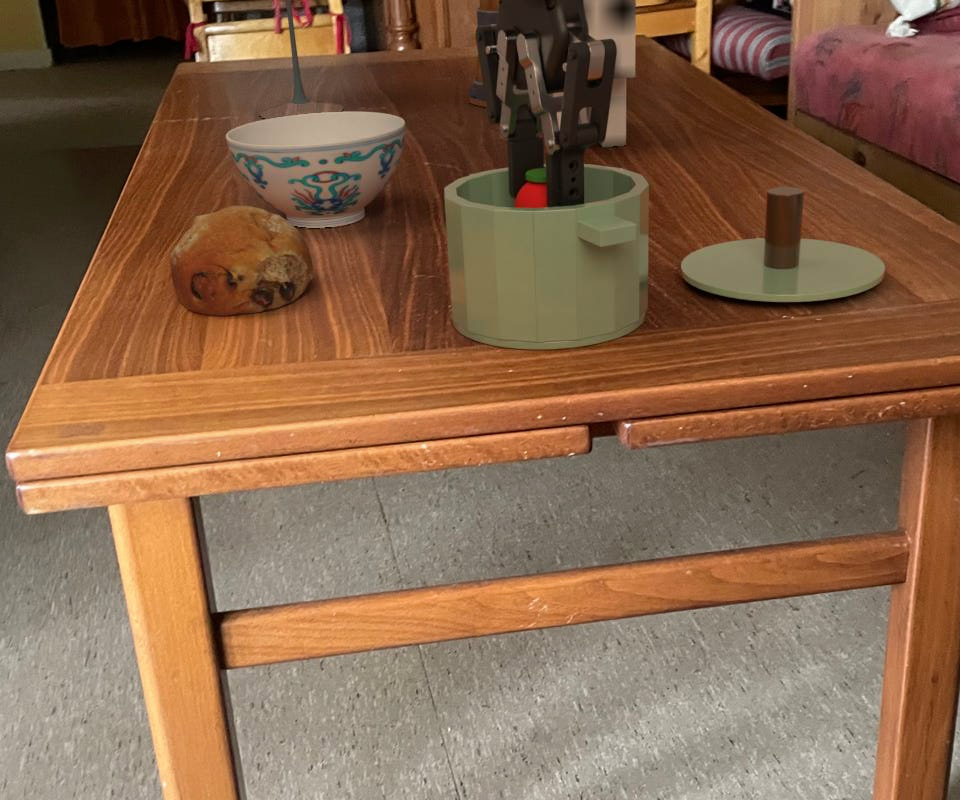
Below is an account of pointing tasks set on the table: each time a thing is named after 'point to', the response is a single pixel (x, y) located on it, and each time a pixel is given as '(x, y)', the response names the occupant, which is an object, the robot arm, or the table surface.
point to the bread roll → (240, 262)
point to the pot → (548, 261)
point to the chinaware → (319, 163)
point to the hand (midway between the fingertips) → (545, 204)
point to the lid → (783, 261)
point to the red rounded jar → (533, 190)
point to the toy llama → (616, 19)
